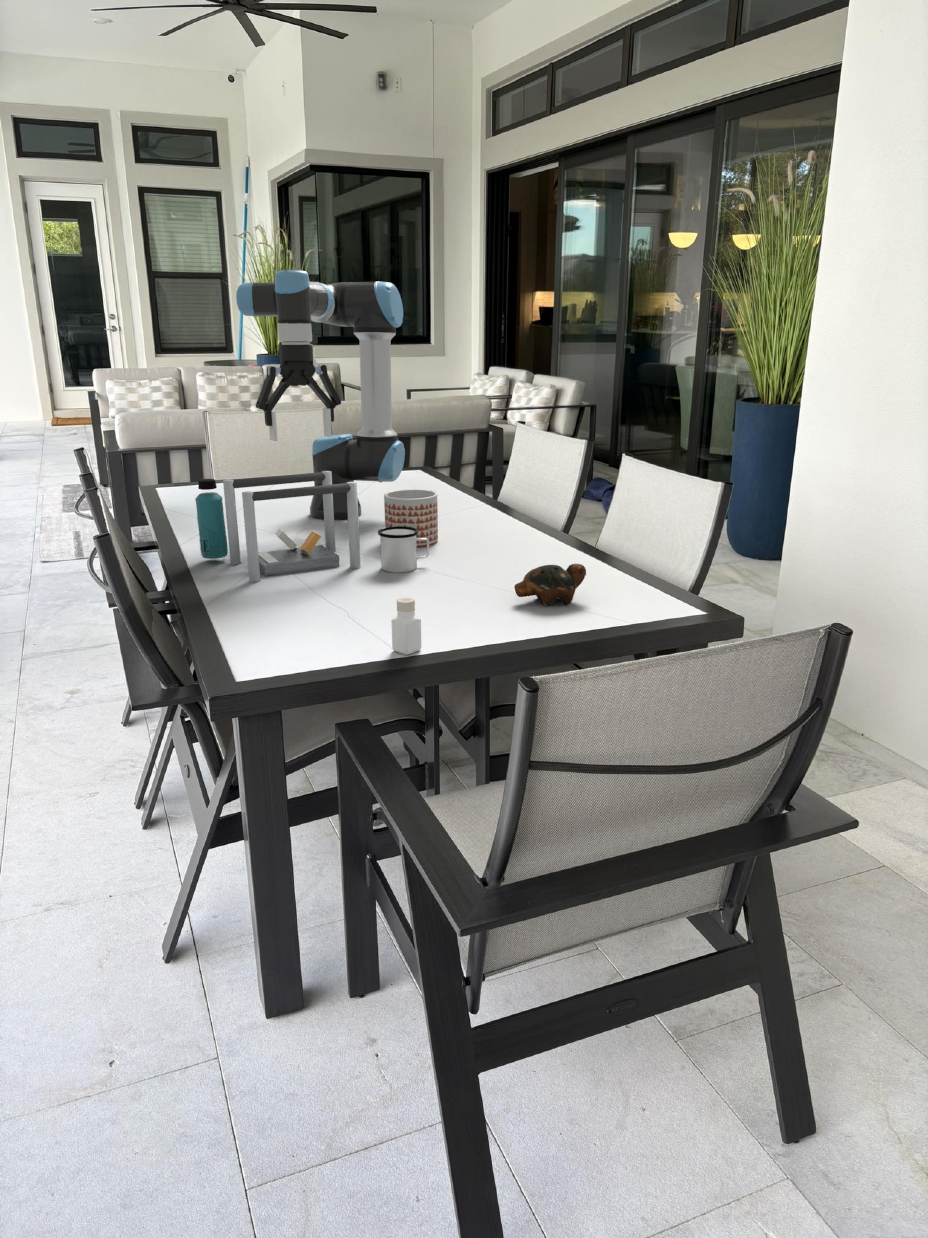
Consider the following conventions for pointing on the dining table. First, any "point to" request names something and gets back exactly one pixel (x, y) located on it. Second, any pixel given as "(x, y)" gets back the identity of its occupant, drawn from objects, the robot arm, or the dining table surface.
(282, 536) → the off-white eraser brick
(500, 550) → the dining table surface
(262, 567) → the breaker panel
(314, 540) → the amber brick
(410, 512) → the planter
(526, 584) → the decorative turtle
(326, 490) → the cord rack
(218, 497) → the beverage bottle
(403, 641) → the small white bottle
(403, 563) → the mug
